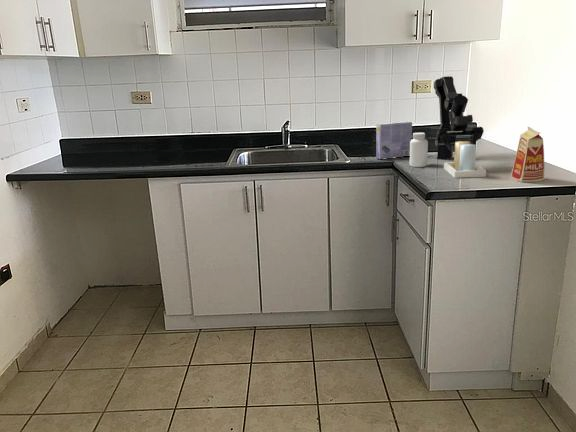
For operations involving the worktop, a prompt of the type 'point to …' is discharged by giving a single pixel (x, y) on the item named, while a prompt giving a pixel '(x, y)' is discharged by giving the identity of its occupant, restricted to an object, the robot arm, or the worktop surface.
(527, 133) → the milk carton
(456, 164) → the beige tall cylinder
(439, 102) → the robot arm
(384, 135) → the cake pan box
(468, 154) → the pale blue cylinder
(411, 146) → the pill bottle
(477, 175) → the white rectangular tray
